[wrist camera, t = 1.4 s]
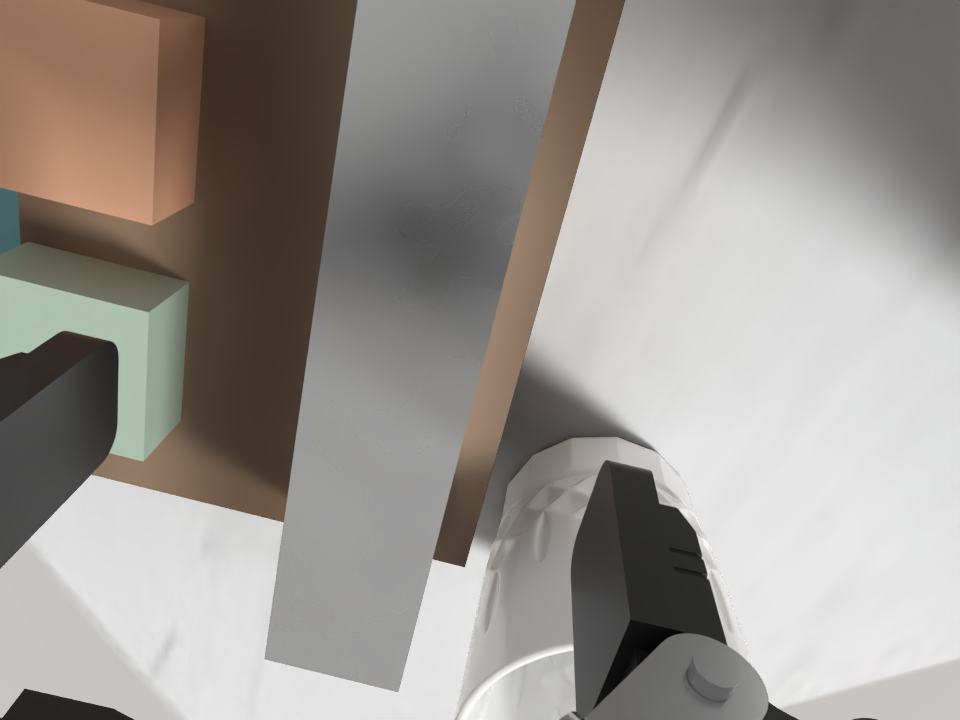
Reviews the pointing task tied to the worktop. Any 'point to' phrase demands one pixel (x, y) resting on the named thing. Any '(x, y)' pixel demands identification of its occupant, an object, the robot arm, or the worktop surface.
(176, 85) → the terracotta tile
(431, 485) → the steel bar
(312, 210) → the brown wooden box
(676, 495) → the white cup
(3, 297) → the sage tile
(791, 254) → the worktop surface
